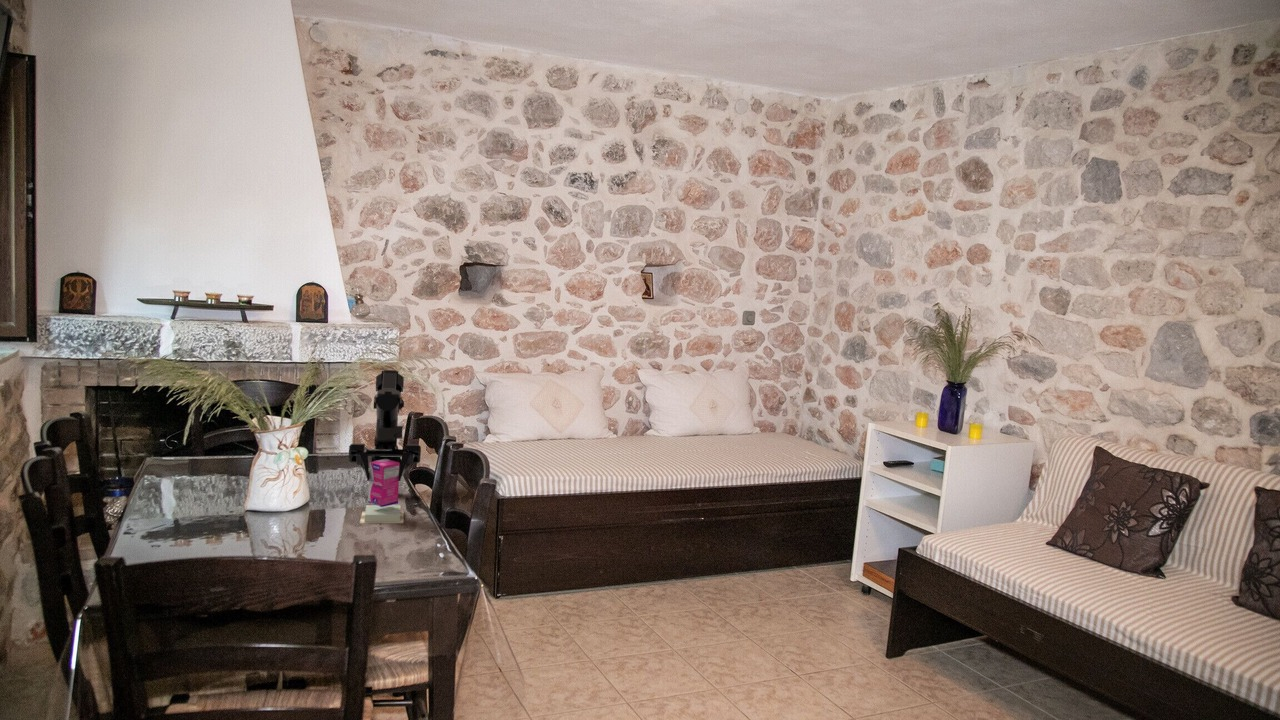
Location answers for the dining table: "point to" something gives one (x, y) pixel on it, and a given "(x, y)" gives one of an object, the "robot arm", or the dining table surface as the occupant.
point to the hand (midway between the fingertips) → (383, 480)
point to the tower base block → (380, 522)
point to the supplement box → (383, 482)
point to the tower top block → (382, 513)
